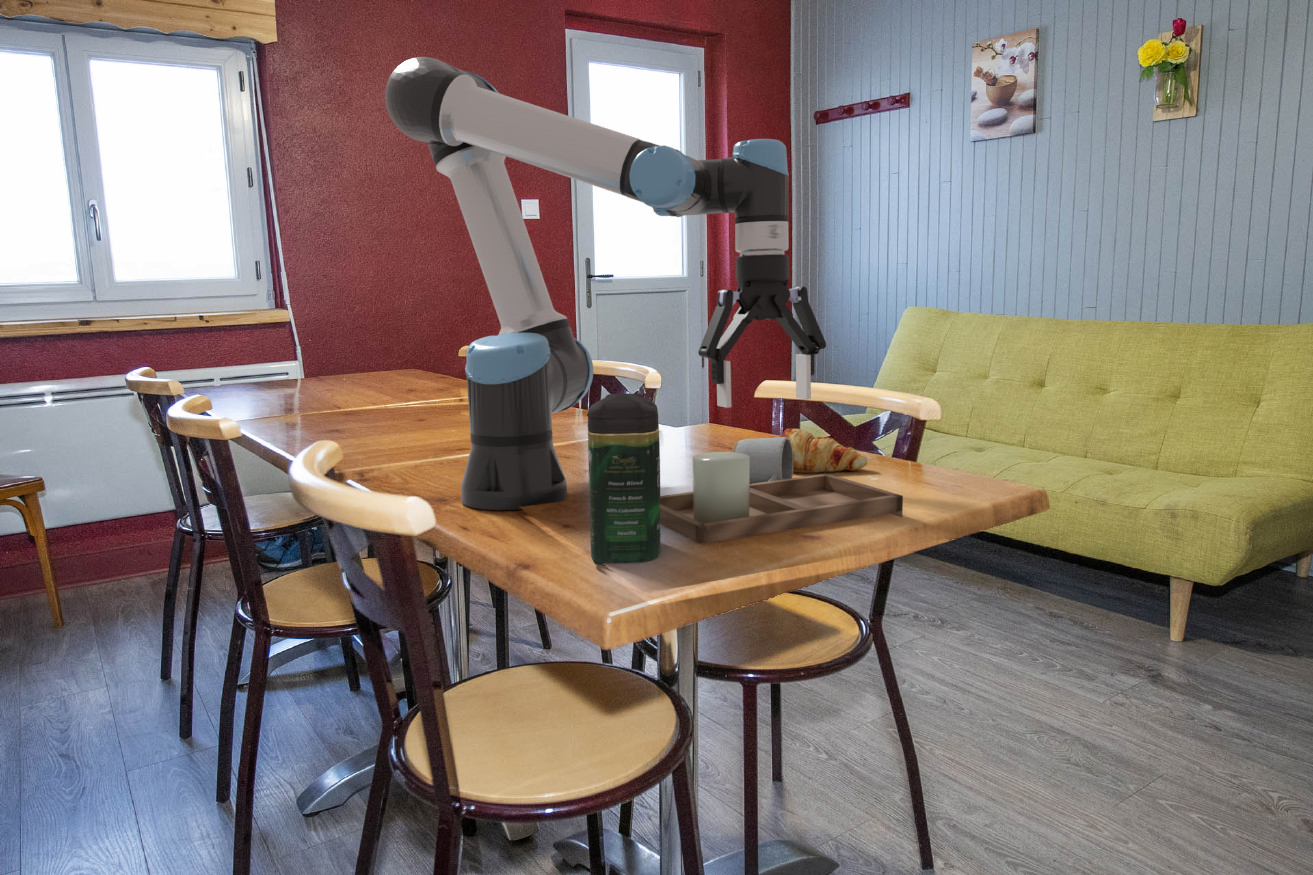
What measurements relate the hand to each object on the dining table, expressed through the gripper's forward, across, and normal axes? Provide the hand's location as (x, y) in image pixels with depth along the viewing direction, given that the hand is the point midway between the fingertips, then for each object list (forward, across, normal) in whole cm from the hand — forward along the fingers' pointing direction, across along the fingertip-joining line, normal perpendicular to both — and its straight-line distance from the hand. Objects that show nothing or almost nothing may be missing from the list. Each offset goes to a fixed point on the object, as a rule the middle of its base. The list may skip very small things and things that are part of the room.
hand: (764, 402), depth 136 cm
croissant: (+13, +13, +9) cm, 21 cm away
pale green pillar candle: (+12, -17, -16) cm, 26 cm away
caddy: (+13, -9, -16) cm, 22 cm away
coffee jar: (+13, -32, -22) cm, 41 cm away
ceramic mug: (+13, -1, 0) cm, 13 cm away
